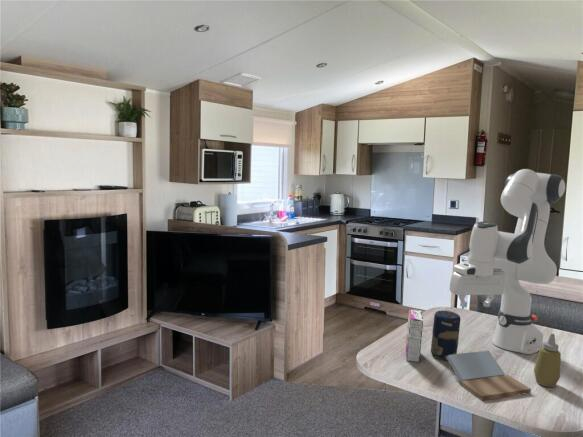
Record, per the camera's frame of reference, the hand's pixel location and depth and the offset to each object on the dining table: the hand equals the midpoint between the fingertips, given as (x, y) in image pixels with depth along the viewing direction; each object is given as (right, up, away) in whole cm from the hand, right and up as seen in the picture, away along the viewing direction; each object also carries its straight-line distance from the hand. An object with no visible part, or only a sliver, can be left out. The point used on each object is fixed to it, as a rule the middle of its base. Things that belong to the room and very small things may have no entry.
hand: (474, 306), depth 166 cm
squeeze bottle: (+23, -26, -3) cm, 35 cm away
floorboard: (+3, -26, -9) cm, 27 cm away
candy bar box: (-19, -21, +13) cm, 31 cm away
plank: (0, -21, 0) cm, 21 cm away
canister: (-7, -22, +15) cm, 27 cm away
